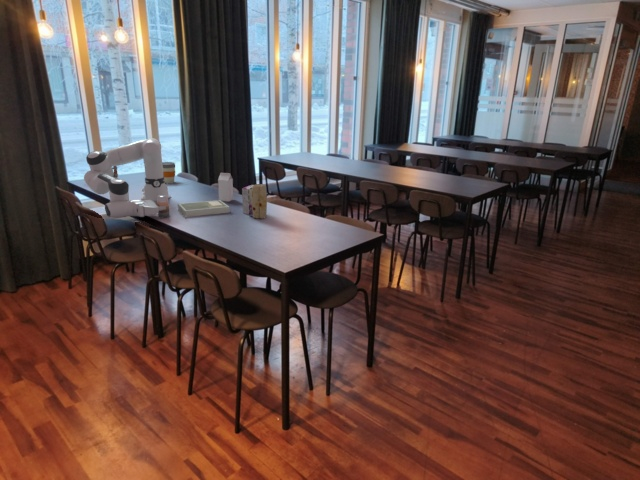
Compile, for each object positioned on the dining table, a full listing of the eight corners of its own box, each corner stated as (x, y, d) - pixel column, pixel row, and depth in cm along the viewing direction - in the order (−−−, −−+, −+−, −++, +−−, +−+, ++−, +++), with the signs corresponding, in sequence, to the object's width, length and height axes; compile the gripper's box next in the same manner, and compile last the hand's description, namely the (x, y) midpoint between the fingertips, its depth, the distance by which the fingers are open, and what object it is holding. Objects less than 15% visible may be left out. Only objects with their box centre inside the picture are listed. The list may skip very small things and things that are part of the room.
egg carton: (208, 208, 260) (207, 201, 259) (217, 207, 263) (217, 201, 262) (212, 212, 252) (212, 205, 251) (222, 211, 255) (222, 204, 254)
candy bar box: (251, 210, 263) (250, 184, 258) (258, 211, 261) (258, 185, 256) (242, 214, 253) (241, 187, 248) (249, 216, 251) (249, 188, 246)
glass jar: (157, 215, 245) (155, 195, 241) (168, 214, 247) (166, 194, 244) (159, 218, 240) (157, 197, 236) (170, 217, 243) (169, 196, 239)
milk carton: (229, 203, 279) (228, 174, 273) (218, 202, 280) (217, 173, 274) (233, 200, 285) (232, 172, 279) (223, 199, 287) (222, 171, 281)
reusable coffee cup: (161, 180, 339) (160, 162, 334) (178, 181, 340) (176, 162, 336) (157, 183, 327) (156, 164, 322) (174, 184, 329) (173, 164, 324)
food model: (262, 215, 253) (262, 182, 247) (269, 218, 249) (269, 184, 242) (249, 218, 247) (248, 184, 240) (256, 220, 242) (255, 186, 236)
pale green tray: (178, 211, 256) (177, 203, 254) (220, 207, 268) (220, 200, 267) (185, 218, 241) (185, 211, 240) (229, 214, 254) (229, 206, 252)
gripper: (135, 208, 244) (160, 206, 251) (141, 217, 228) (168, 215, 234) (134, 198, 242) (160, 196, 249) (140, 206, 226) (167, 204, 232)
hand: (164, 205), depth 242 cm, fingers open, 8 cm apart
